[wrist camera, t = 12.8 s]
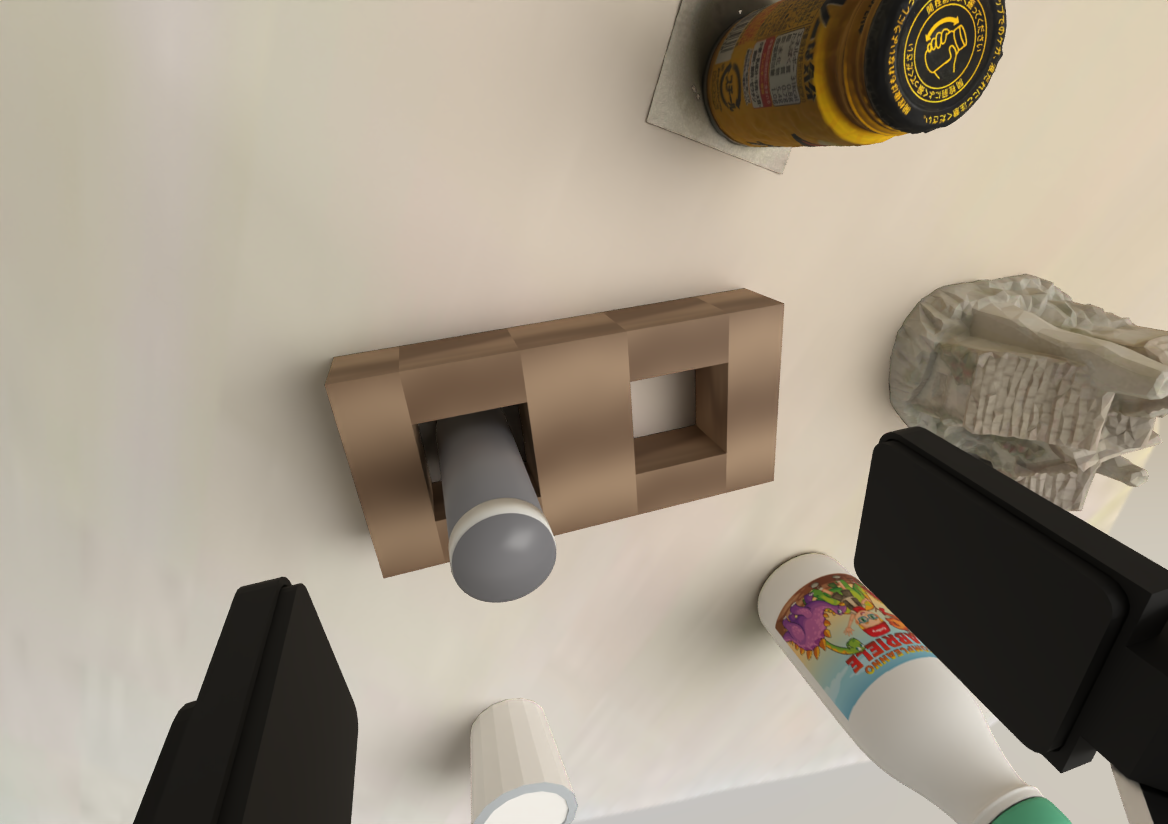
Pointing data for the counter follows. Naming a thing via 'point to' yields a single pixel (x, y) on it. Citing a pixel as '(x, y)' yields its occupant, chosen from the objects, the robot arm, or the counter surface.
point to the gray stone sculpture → (1032, 383)
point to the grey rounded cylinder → (491, 509)
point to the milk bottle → (894, 695)
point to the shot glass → (517, 768)
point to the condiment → (823, 71)
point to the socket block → (566, 414)
